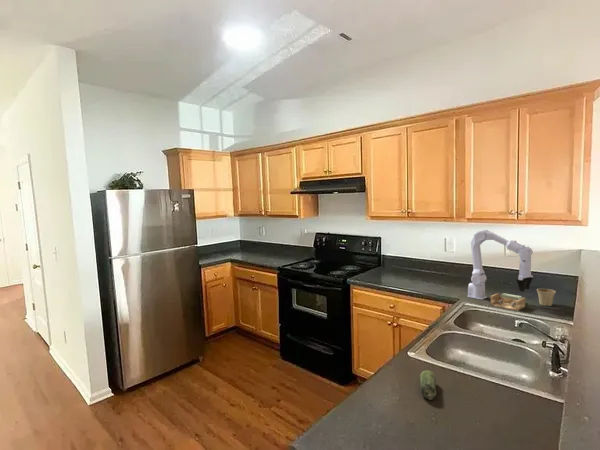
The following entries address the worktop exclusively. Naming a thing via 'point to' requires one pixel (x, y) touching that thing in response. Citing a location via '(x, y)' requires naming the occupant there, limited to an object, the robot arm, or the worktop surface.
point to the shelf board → (511, 296)
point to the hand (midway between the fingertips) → (524, 290)
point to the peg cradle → (507, 302)
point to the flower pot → (546, 296)
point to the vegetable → (428, 384)
